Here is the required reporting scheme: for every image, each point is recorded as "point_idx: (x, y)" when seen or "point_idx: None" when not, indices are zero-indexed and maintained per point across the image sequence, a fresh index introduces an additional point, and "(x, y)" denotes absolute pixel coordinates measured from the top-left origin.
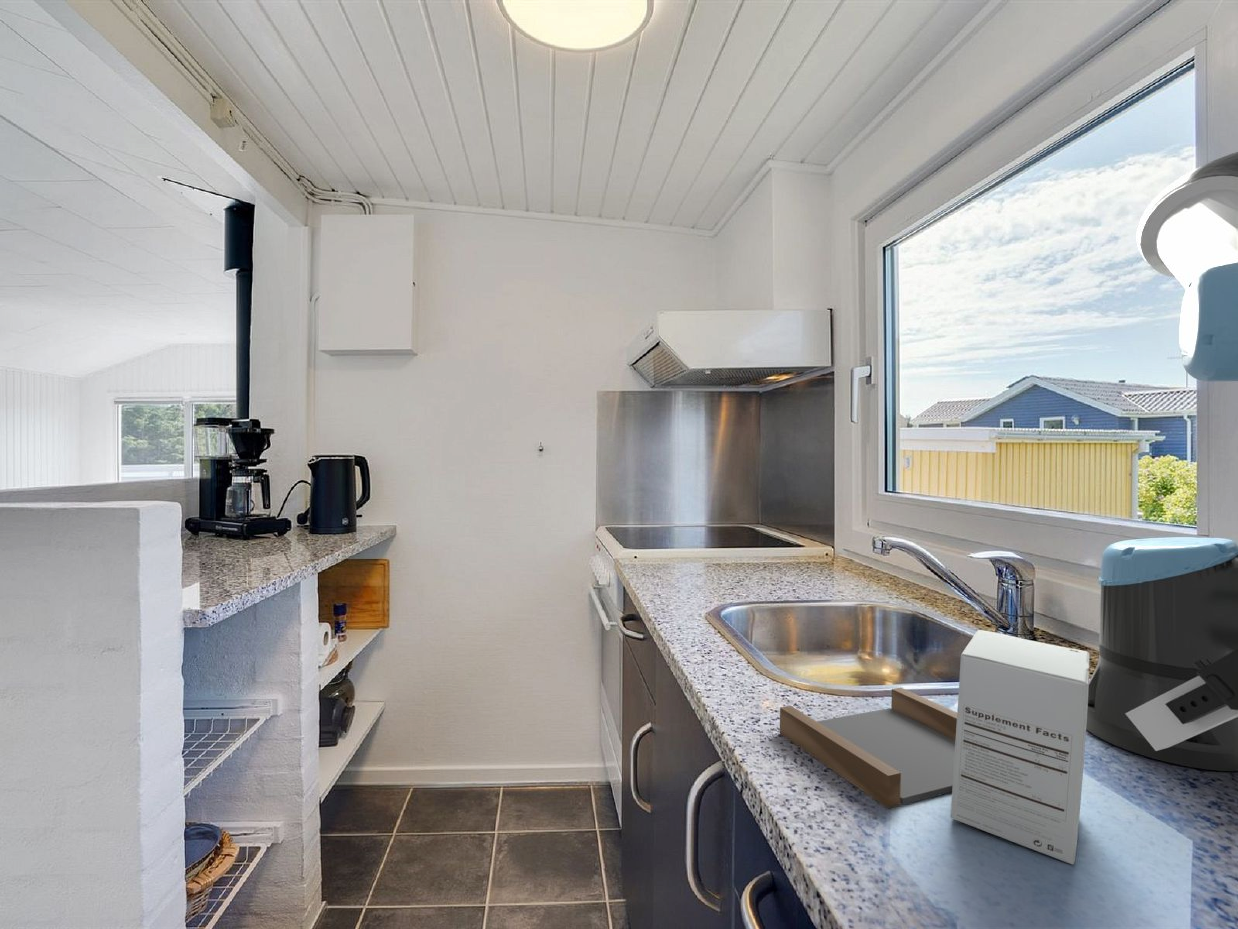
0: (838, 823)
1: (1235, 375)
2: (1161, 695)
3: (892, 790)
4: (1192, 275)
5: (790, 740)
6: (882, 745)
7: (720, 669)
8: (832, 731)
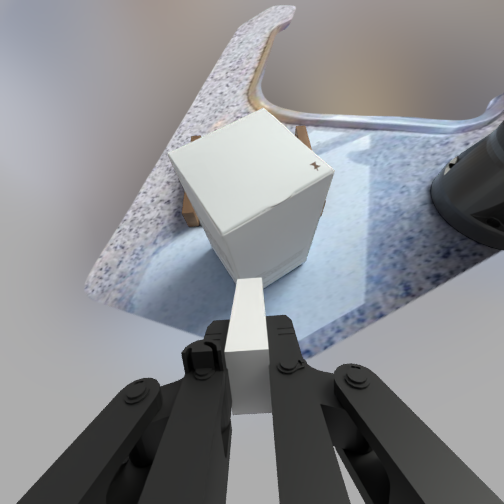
0: (148, 231)
1: None
2: (233, 303)
3: (189, 219)
4: None
5: None
6: None
7: (224, 87)
8: None
